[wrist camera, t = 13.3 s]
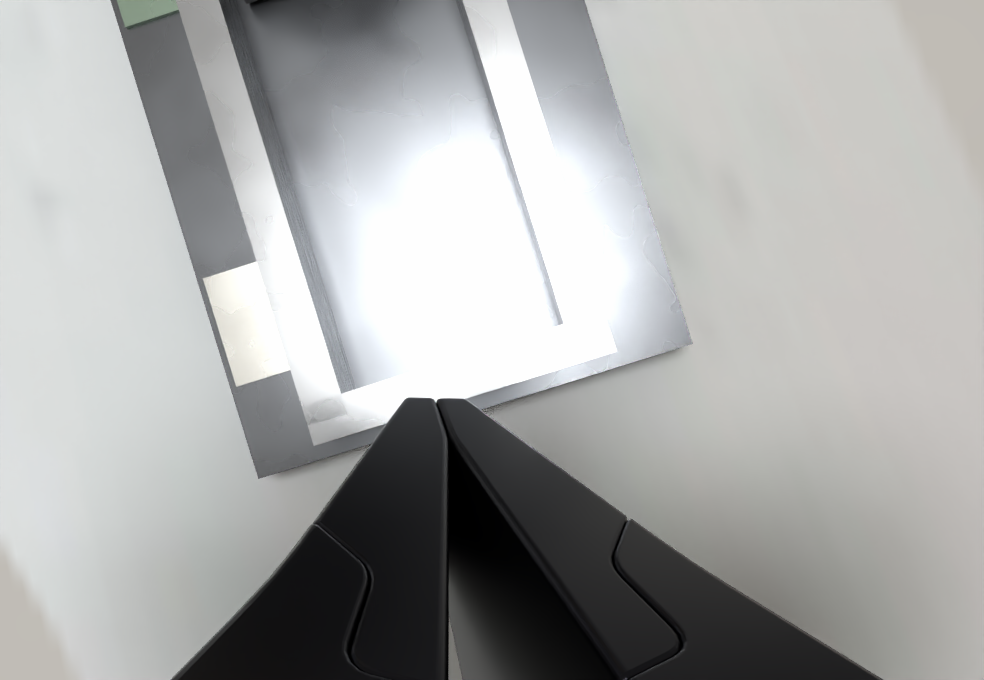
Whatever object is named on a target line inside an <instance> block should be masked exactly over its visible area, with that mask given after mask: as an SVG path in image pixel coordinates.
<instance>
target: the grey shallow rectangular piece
mask: <svg viewBox="0 0 984 680" xmlns="http://www.w3.org/2000/svg"><path fill="white" fill-rule="evenodd" d="M111 3H112V6H113V9H114V12H115V16H116V19H117V22H118V25H119V29H120V32H121V35H122V38H123V42H124V45H125V48H126V51H127V54H128V58H129V61H130V64H131V67H132V71H133V74H134V77H135V80H136V84H137V87H138V90H139V93H140V97H141V100H142V103H143V106H144V110H145V113H146V116H147V119H148V122H149V126H150V129H151V132H152V135H153V139H154V142H155V145H156V148H157V152H158V155H159V158H160V161H161V165H162V168H163V171H164V174H165V177H166V181H167V184H168V187H169V190H170V194H171V197H172V200H173V203H174V207H175V210H176V213H177V216H178V220H179V223H180V226H181V229H182V233H183V236H184V239H185V242H186V245H187V249H188V252H189V255H190V258H191V262H192V265H193V268H194V271H195V275H196V278H197V281H198V284H199V288H200V291H201V294H202V297H203V301H204V304H205V307H206V310H207V313H208V317H209V320H210V323H211V326H212V330H213V333H214V336H215V339H216V343H217V346H218V349H219V352H220V356H221V359H222V362H223V365H224V368H225V372H226V375H227V378H228V381H229V385H230V388H231V391H232V394H233V398H234V401H235V404H236V407H237V411H238V414H239V417H240V420H241V424H242V427H243V430H244V433H245V436H246V440H247V443H248V446H249V449H250V453H251V456H252V459H253V462H254V466H255V469H256V472H257V475H258V479H259V478H263V477H266V476H269V475H272V474H276V473H279V472H282V471H285V470H288V469H292V468H295V467H298V466H301V465H304V464H308V463H311V462H314V461H317V460H321V459H324V458H327V457H330V456H333V455H337V454H340V453H343V452H346V451H349V450H353V449H356V448H359V447H362V446H366V445H369V444H372V442H373V441H374V440H375V438H376V437H377V436H378V434H379V433H380V432H381V430H382V429H383V428H384V426H385V425H386V424H387V422H388V421H389V419H390V418H391V417H392V415H393V414H394V413H395V411H396V410H397V409H398V407H399V406H400V405H401V403H402V402H403V401H404V399H406V398H407V397H426V398H433V399H434V400H435V401H437V400H438V399H439V398H463V399H466V400H468V401H469V402H471V403H472V404H473V405H475V406H476V407H477V408H479V409H480V410H481V409H485V408H488V407H491V406H494V405H497V404H501V403H504V402H507V401H510V400H513V399H517V398H520V397H523V396H526V395H530V394H533V393H536V392H539V391H542V390H546V389H549V388H552V387H555V386H558V385H562V384H565V383H568V382H571V381H575V380H578V379H581V378H584V377H587V376H591V375H594V374H597V373H600V372H603V371H607V370H610V369H613V368H616V367H620V366H623V365H626V364H629V363H632V362H636V361H639V360H642V359H645V358H648V357H652V356H655V355H658V354H661V353H665V352H668V351H671V350H674V349H677V348H681V347H684V346H687V345H690V344H693V343H692V340H691V337H690V334H689V331H688V328H687V324H686V321H685V318H684V315H683V312H682V308H681V305H680V302H679V299H678V296H677V293H676V289H675V286H674V283H673V280H672V277H671V274H670V270H669V267H668V264H667V261H666V258H665V255H664V251H663V248H662V245H661V242H660V239H659V236H658V232H657V229H656V226H655V223H654V220H653V217H652V213H651V210H650V207H649V204H648V201H647V198H646V194H645V191H644V188H643V185H642V182H641V179H640V175H639V172H638V169H637V166H636V163H635V160H634V156H633V153H632V150H631V147H630V144H629V141H628V137H627V134H626V131H625V128H624V125H623V122H622V118H621V115H620V112H619V109H618V106H617V103H616V99H615V96H614V93H613V90H612V87H611V84H610V80H609V77H608V74H607V71H606V68H605V65H604V61H603V58H602V55H601V52H600V49H599V46H598V42H597V39H596V36H595V33H594V30H593V27H592V23H591V20H590V17H589V14H588V11H587V8H586V4H585V1H584V0H257V1H254V2H251V3H248V4H246V2H245V1H244V0H111Z"/></svg>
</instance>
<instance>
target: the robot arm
mask: <svg viewBox="0 0 984 680" xmlns="http://www.w3.org/2000/svg"><path fill="white" fill-rule="evenodd" d="M449 617H450V622H451V627H452V631H453V636H454V641H455V645H456V650H457V655H458V660H459V664H460V669H461V674H462V679H463V680H883V679H881V678H879V677H878V676H876V675H875V674H873V673H871V672H870V671H868V670H866V669H865V668H863V667H861V666H860V665H858V664H857V663H855V662H853V661H852V660H850V659H848V658H847V657H845V656H844V655H842V654H840V653H839V652H837V651H835V650H834V649H832V648H831V647H829V646H827V645H826V644H824V643H822V642H821V641H819V640H818V639H816V638H814V637H813V636H811V635H809V634H808V633H806V632H805V631H803V630H801V629H800V628H798V627H796V626H795V625H793V624H791V623H790V622H788V621H787V620H785V619H783V618H782V617H780V616H778V615H777V614H775V613H774V612H772V611H770V610H769V609H767V608H765V607H764V606H762V605H761V604H759V603H757V602H756V601H754V600H752V599H751V598H749V597H748V596H746V595H744V594H743V593H741V592H739V591H738V590H736V589H735V588H733V587H731V586H730V585H728V584H727V583H725V582H724V581H722V580H720V579H719V578H717V577H716V576H714V575H713V574H711V573H709V572H708V571H706V570H705V569H703V568H702V567H700V566H698V565H697V564H695V563H694V562H692V561H691V560H689V559H688V558H686V557H685V556H684V555H682V554H681V553H679V552H678V551H676V550H675V549H673V548H672V547H671V546H669V545H668V544H666V543H665V542H663V541H662V540H660V539H659V538H658V537H656V536H655V535H653V534H652V533H651V532H649V531H648V530H646V529H645V528H644V527H642V526H641V525H640V524H638V523H637V522H635V521H634V520H633V519H628V520H627V517H626V516H625V515H624V514H623V513H621V512H620V511H619V510H617V509H616V508H614V507H613V506H612V505H610V504H609V503H608V502H606V501H605V500H604V499H602V498H601V497H599V496H598V495H597V494H595V493H594V492H593V491H591V490H590V489H588V488H587V487H586V486H584V485H583V484H582V483H580V482H579V481H577V480H576V479H575V478H573V477H572V476H571V475H569V474H568V473H566V472H565V471H564V470H562V469H561V468H560V467H558V466H557V465H556V464H554V463H553V462H551V461H550V460H549V459H547V458H546V457H545V456H543V455H542V454H540V453H539V452H538V451H536V450H535V449H534V448H532V447H531V446H529V445H528V444H527V443H525V442H524V441H523V440H521V439H520V438H518V437H517V436H516V435H514V434H513V433H512V432H510V431H509V430H508V429H506V428H505V427H503V426H502V425H501V424H499V423H498V422H497V421H495V420H494V419H492V418H491V417H490V416H488V415H487V414H486V413H484V412H483V411H481V410H480V409H479V408H477V407H476V406H475V405H473V404H472V403H471V402H469V401H468V400H466V399H463V398H439V399H438V400H437V401H435V400H434V399H433V398H426V397H407V398H406V399H404V401H403V402H402V403H401V405H400V406H399V407H398V409H397V410H396V411H395V413H394V414H393V415H392V417H391V418H390V419H389V421H388V422H387V424H386V425H385V426H384V428H383V429H382V430H381V432H380V433H379V434H378V436H377V437H376V438H375V440H374V441H373V442H372V444H371V445H370V447H369V448H368V449H367V451H366V452H365V453H364V455H363V456H362V457H361V459H360V460H359V461H358V463H357V464H356V466H355V467H354V468H353V470H352V471H351V472H350V474H349V475H348V476H347V478H346V479H345V480H344V482H343V483H342V485H341V486H340V487H339V489H338V490H337V491H336V493H335V494H334V495H333V497H332V498H331V499H330V501H329V502H328V503H327V505H326V506H325V508H324V509H323V510H322V512H321V513H320V514H319V516H318V517H317V518H316V520H315V521H314V523H313V524H312V525H311V526H310V527H309V528H308V529H307V530H306V532H305V533H304V535H303V536H302V537H301V539H300V540H299V541H298V543H297V544H296V545H295V547H294V548H293V549H292V550H291V552H290V553H289V554H288V555H287V557H286V558H285V559H284V560H283V562H282V563H281V564H280V565H279V567H278V568H277V569H276V570H275V571H274V573H273V574H272V575H271V576H270V578H269V579H268V580H267V581H266V582H265V583H264V584H263V585H262V586H261V587H260V588H259V589H258V590H257V592H256V593H255V594H254V595H253V596H252V597H251V598H250V599H249V600H248V601H247V602H246V603H245V604H244V605H243V606H242V608H241V609H240V610H239V611H238V612H237V613H236V614H235V615H234V616H233V617H232V618H231V619H230V620H229V621H228V622H227V623H226V624H225V625H224V626H223V627H222V628H221V629H220V630H219V631H218V632H217V633H216V634H215V635H214V636H213V637H212V638H211V639H210V640H209V641H208V642H207V643H206V644H205V645H204V646H203V647H202V648H201V649H200V650H199V651H198V652H197V653H196V654H195V655H194V656H193V657H192V658H191V659H190V660H189V662H188V663H187V664H186V665H185V666H184V667H183V668H182V669H181V670H180V671H179V672H178V673H177V674H176V675H175V676H174V677H173V678H172V679H171V680H448V641H449Z"/></svg>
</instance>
